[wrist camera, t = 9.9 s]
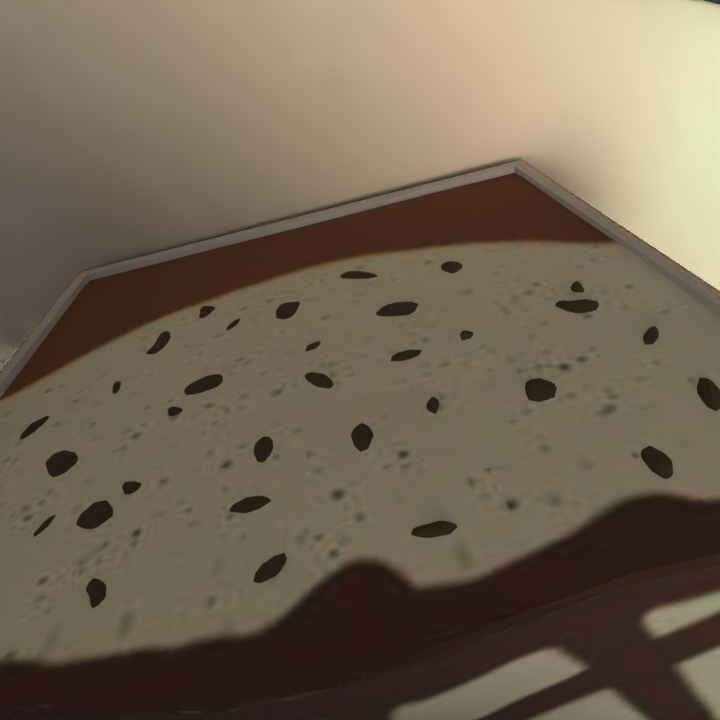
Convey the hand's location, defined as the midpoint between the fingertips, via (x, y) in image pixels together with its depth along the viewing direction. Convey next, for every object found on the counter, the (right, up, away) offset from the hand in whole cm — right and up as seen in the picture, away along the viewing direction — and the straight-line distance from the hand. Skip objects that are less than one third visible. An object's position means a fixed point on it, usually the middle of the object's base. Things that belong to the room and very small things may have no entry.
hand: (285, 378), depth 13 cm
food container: (+1, +1, +2) cm, 2 cm away
